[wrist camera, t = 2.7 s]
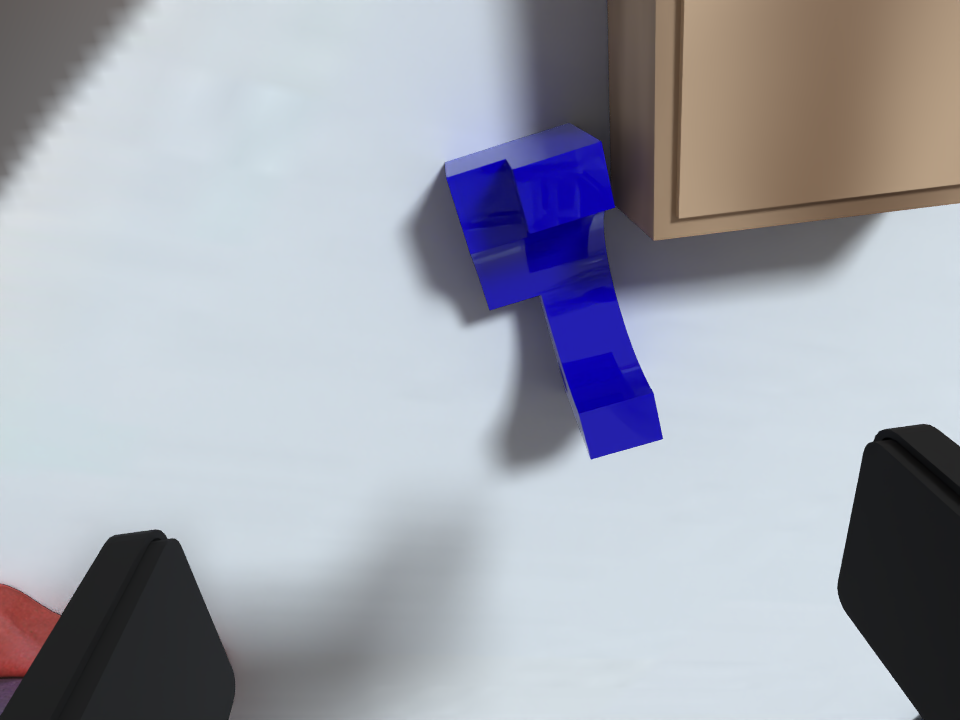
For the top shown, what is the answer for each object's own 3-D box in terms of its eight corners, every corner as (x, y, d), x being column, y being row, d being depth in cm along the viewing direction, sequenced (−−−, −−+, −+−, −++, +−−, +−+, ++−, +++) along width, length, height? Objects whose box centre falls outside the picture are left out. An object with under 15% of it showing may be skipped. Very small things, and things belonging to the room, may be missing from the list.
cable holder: (445, 160, 18) (447, 190, 14) (567, 122, 18) (601, 141, 14) (520, 402, 22) (537, 474, 18) (624, 372, 21) (662, 438, 18)
